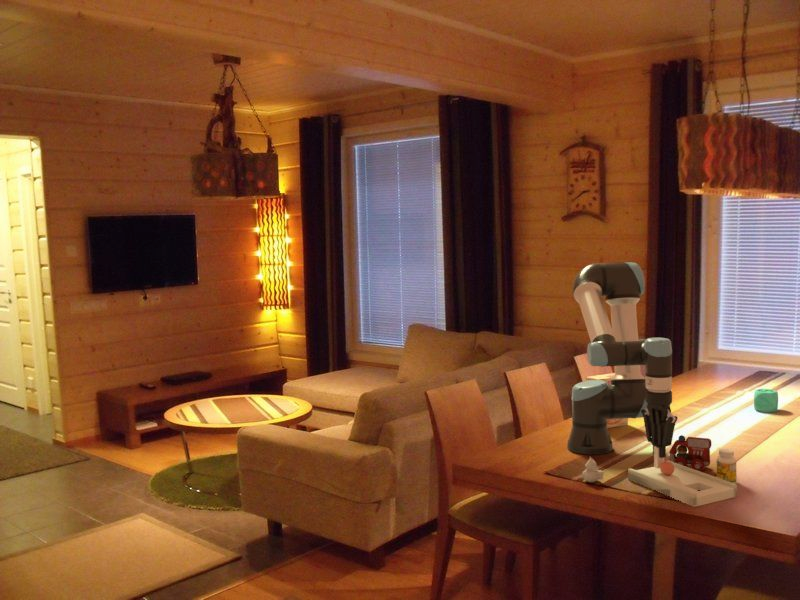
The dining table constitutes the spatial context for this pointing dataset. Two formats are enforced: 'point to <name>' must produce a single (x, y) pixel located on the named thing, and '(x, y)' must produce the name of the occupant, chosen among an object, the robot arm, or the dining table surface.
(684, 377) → the dining table surface
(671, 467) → the ball
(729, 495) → the board
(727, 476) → the supplement bottle
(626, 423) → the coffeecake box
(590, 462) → the white figurine
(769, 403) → the decorative dice
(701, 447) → the toy fire truck
